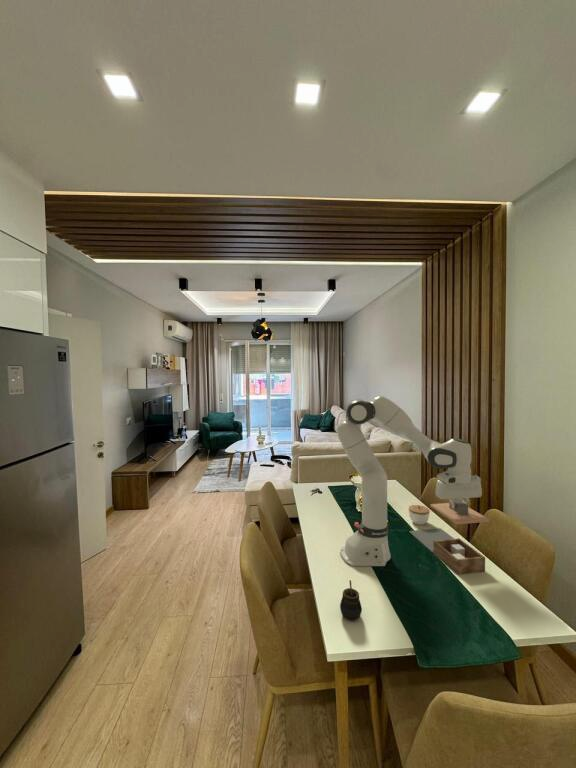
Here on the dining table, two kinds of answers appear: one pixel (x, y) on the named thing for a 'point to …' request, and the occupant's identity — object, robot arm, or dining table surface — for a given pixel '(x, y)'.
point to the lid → (459, 513)
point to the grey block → (457, 549)
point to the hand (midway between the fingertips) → (458, 507)
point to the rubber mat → (430, 536)
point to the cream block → (458, 556)
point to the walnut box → (459, 566)
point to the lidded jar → (419, 514)
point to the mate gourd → (350, 604)
